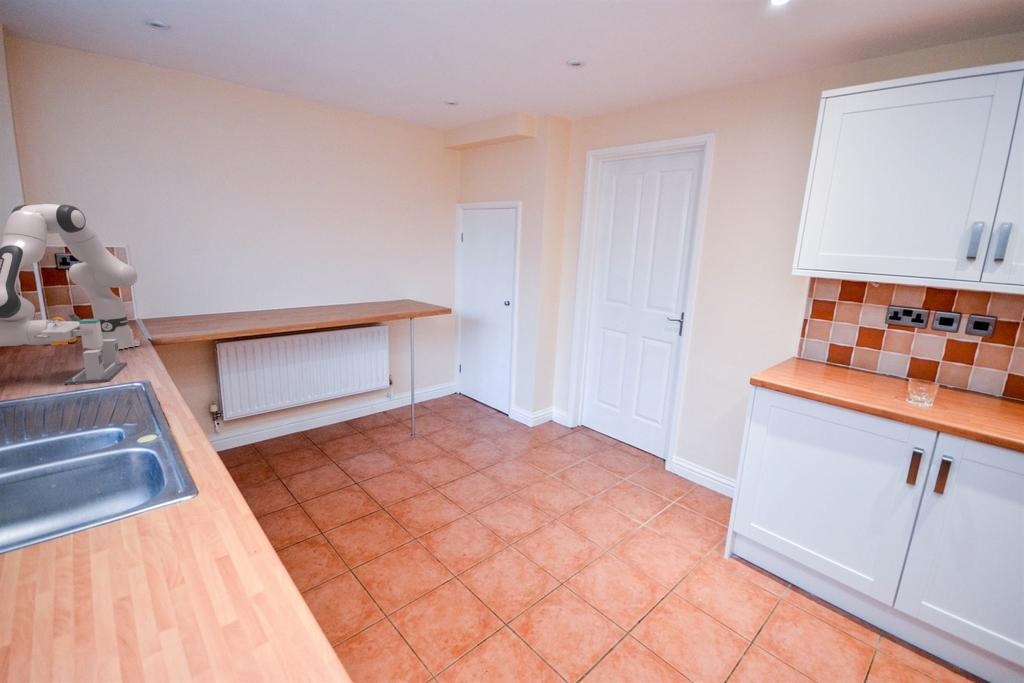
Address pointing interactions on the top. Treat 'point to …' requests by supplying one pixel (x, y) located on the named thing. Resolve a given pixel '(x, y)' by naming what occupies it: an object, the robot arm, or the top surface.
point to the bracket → (62, 341)
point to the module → (96, 335)
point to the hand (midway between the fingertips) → (94, 330)
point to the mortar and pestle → (74, 317)
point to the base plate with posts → (99, 364)
